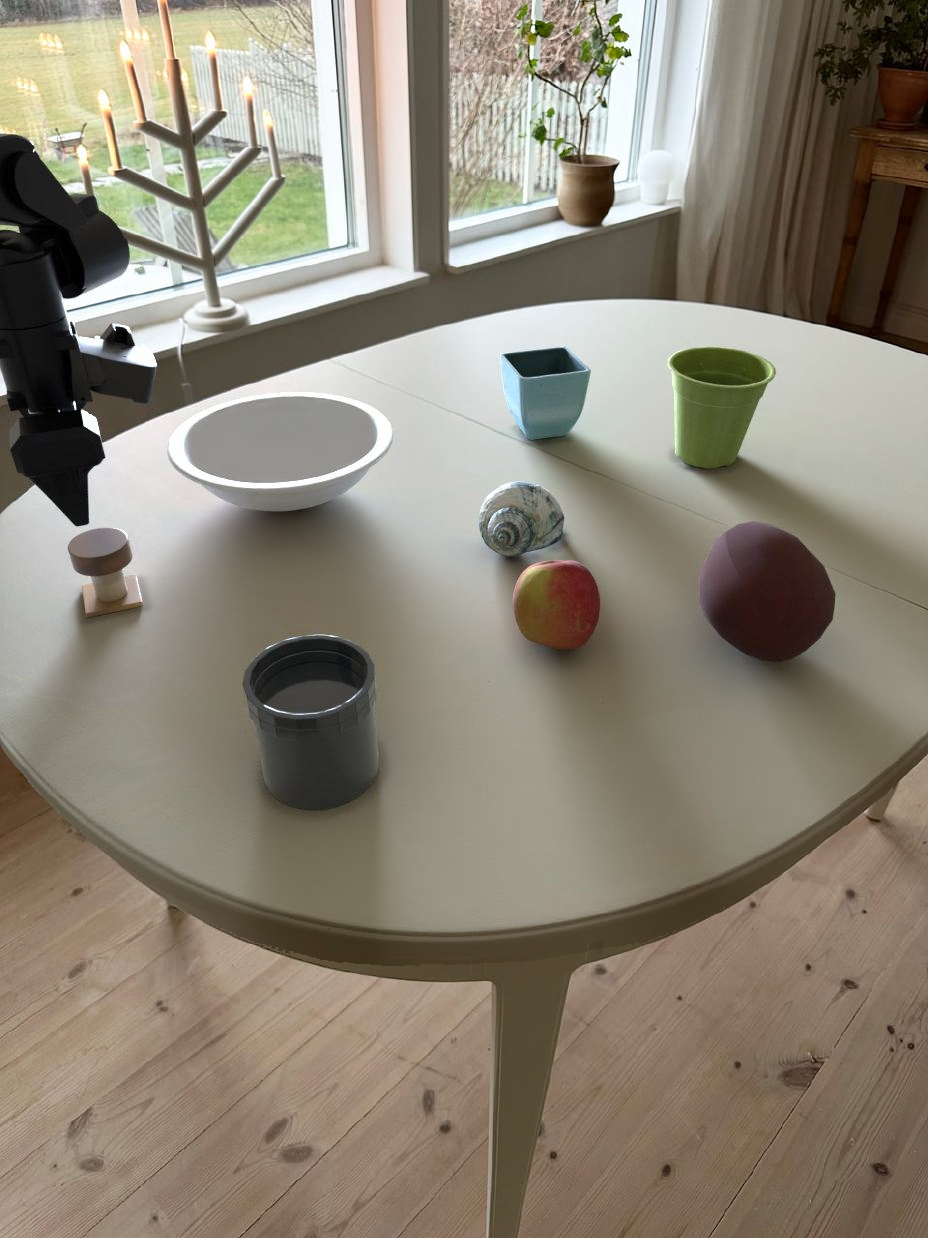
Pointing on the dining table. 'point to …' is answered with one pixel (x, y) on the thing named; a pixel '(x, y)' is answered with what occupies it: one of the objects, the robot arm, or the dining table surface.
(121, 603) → the plate
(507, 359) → the flower pot
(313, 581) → the dining table surface
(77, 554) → the mushroom
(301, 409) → the soup bowl
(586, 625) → the apple
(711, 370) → the plant pot
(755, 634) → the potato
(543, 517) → the seashell
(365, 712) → the container
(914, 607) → the dining table surface
